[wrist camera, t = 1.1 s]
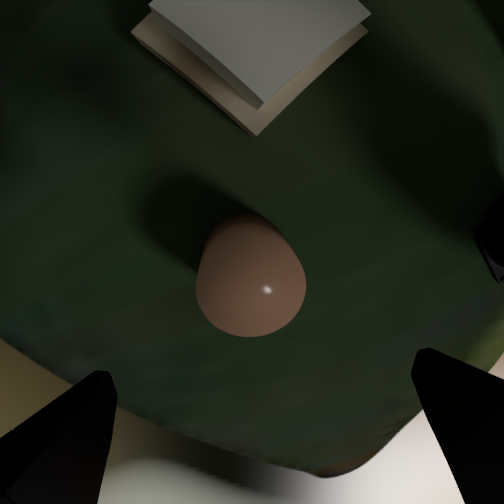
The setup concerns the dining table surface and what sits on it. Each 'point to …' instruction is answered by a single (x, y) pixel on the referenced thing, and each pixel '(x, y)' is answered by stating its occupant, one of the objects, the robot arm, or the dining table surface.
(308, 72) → the tower base
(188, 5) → the tower top
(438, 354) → the robot arm
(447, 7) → the dining table surface
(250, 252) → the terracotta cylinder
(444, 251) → the dining table surface
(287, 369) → the dining table surface
